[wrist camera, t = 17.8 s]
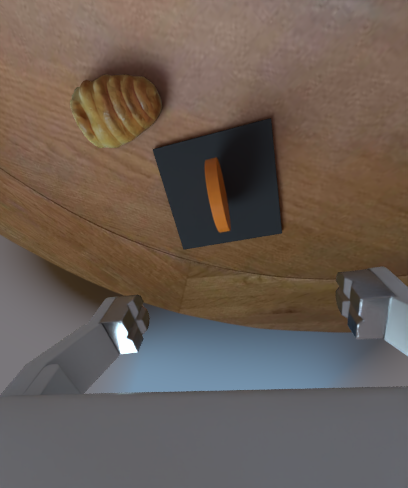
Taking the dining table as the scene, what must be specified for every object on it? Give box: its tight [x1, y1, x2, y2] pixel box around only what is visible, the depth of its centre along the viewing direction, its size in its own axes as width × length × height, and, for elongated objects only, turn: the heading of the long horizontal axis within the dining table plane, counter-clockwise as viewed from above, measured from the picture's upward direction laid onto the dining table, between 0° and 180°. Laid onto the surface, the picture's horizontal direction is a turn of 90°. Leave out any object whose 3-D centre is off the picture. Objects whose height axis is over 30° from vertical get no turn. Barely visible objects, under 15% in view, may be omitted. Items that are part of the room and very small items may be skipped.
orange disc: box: [205, 157, 231, 233], centre depth 25 cm, size 8×1×8 cm, turn 13°
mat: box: [153, 118, 282, 249], centre depth 29 cm, size 14×14×1 cm
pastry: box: [70, 74, 162, 148], centre depth 25 cm, size 9×7×4 cm
